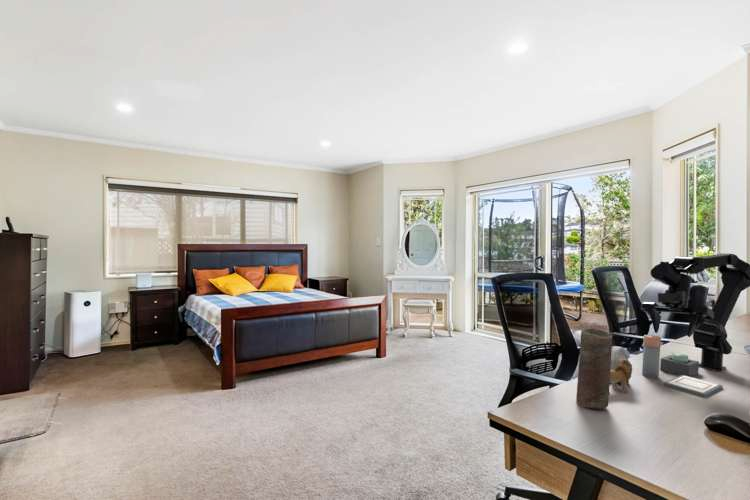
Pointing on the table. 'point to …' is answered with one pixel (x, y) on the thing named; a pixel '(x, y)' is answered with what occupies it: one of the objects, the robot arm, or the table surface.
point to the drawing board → (693, 385)
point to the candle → (594, 368)
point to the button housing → (679, 366)
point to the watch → (618, 358)
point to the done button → (680, 357)
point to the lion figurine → (621, 374)
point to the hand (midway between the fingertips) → (671, 334)
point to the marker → (651, 356)
